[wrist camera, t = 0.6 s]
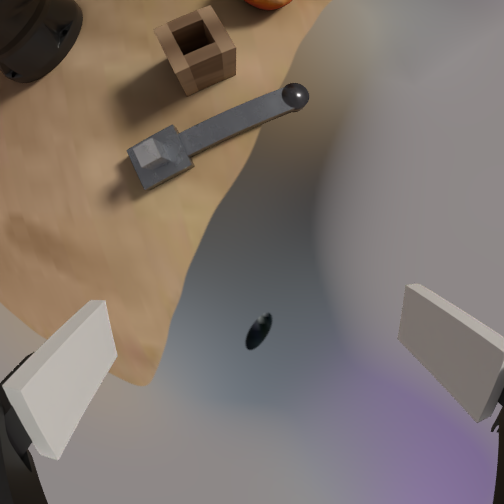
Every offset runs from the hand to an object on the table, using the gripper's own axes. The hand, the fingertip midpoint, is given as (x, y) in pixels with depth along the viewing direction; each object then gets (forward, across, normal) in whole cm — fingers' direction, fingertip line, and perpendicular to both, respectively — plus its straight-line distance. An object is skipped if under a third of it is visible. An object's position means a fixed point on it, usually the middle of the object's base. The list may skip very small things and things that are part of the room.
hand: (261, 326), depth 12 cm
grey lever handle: (+25, -2, +12) cm, 28 cm away
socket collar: (+25, -4, +21) cm, 33 cm away
